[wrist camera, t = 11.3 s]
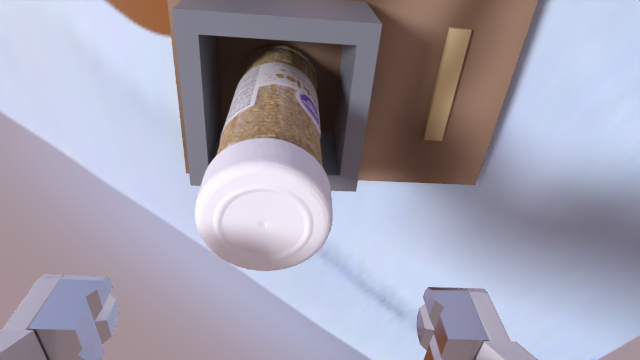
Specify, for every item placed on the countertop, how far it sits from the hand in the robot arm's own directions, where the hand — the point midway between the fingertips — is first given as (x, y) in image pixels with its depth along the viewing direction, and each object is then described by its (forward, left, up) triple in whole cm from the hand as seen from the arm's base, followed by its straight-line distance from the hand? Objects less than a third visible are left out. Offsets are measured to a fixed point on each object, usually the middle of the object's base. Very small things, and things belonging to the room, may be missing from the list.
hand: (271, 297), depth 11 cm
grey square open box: (0, 0, -17) cm, 17 cm away
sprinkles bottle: (0, 0, -17) cm, 17 cm away
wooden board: (-4, 0, -18) cm, 18 cm away
